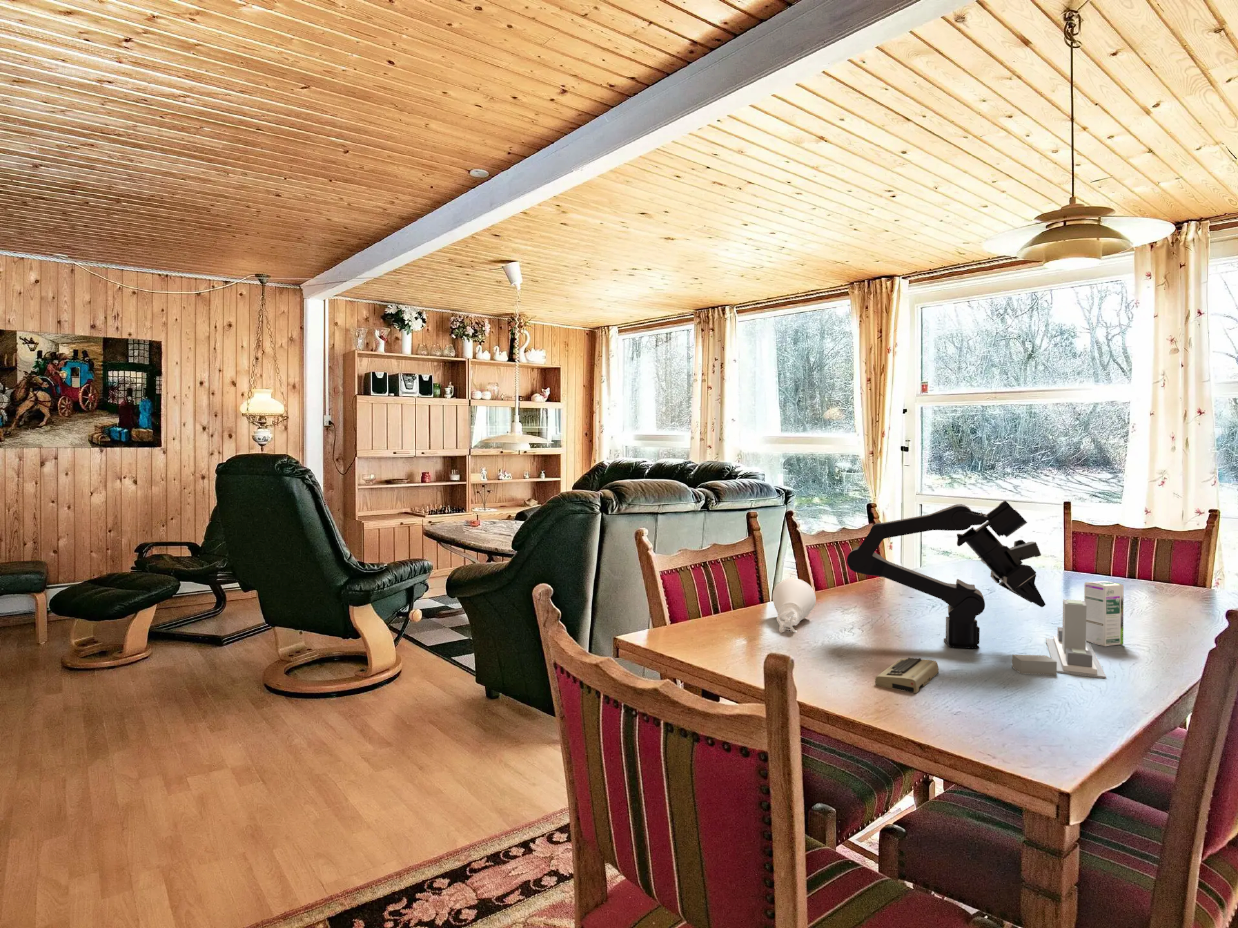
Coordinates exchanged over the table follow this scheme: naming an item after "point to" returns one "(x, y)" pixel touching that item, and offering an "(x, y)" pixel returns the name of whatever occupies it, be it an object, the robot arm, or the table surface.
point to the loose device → (1034, 664)
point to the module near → (1078, 657)
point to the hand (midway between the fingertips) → (1038, 603)
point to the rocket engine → (792, 602)
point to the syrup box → (1104, 612)
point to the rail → (1062, 666)
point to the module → (1074, 625)
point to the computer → (908, 674)
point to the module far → (1059, 634)
